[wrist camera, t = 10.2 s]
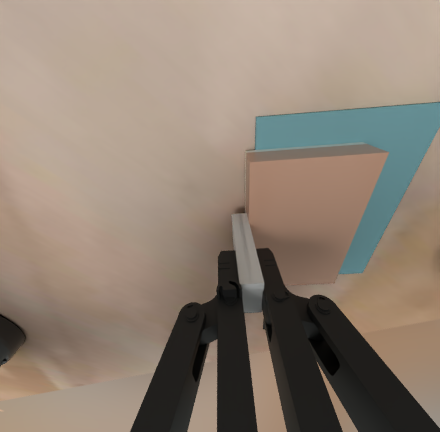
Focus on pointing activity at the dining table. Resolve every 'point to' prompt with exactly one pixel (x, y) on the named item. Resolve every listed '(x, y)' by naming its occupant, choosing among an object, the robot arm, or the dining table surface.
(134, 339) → the dining table surface
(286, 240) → the tile
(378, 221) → the felt mat
